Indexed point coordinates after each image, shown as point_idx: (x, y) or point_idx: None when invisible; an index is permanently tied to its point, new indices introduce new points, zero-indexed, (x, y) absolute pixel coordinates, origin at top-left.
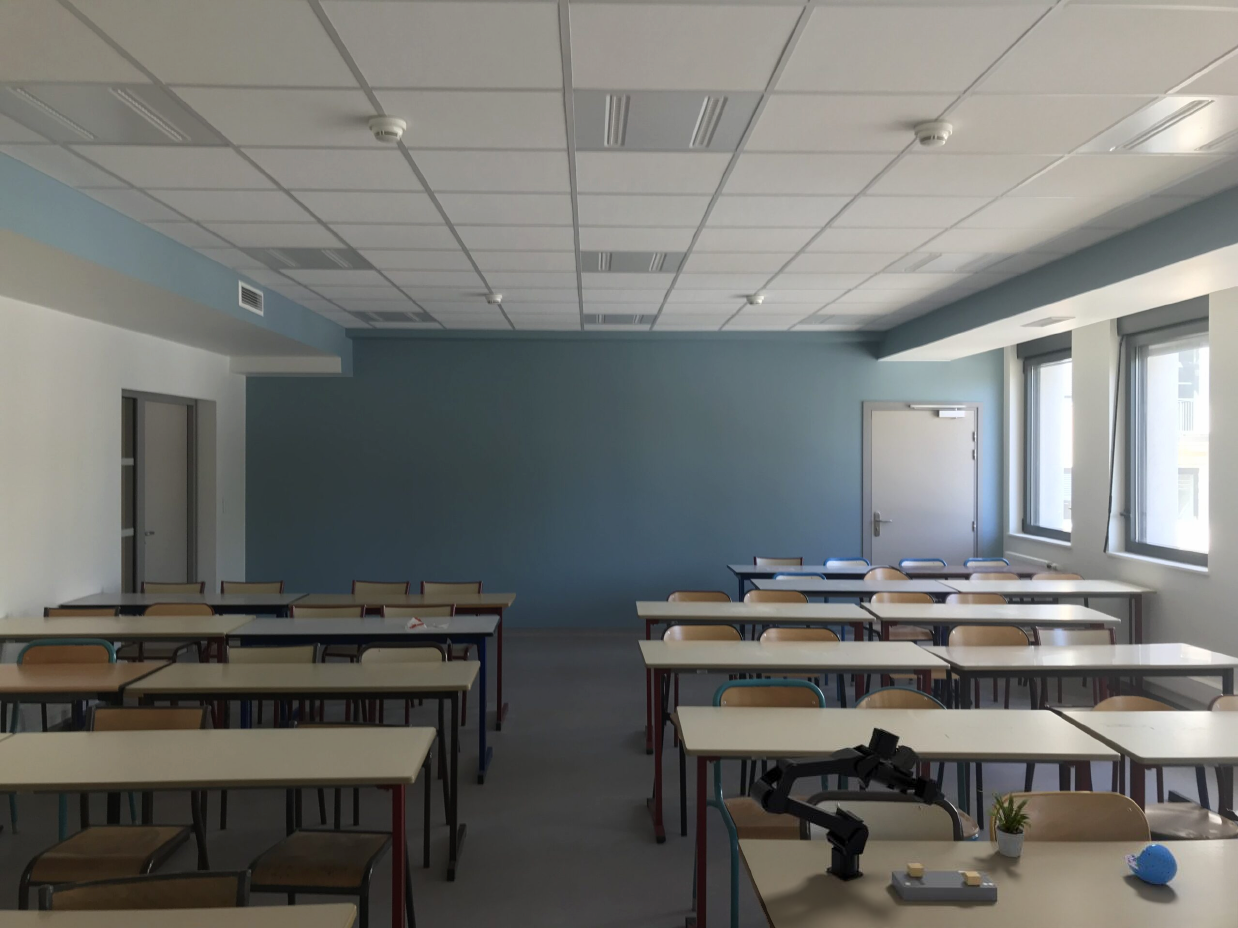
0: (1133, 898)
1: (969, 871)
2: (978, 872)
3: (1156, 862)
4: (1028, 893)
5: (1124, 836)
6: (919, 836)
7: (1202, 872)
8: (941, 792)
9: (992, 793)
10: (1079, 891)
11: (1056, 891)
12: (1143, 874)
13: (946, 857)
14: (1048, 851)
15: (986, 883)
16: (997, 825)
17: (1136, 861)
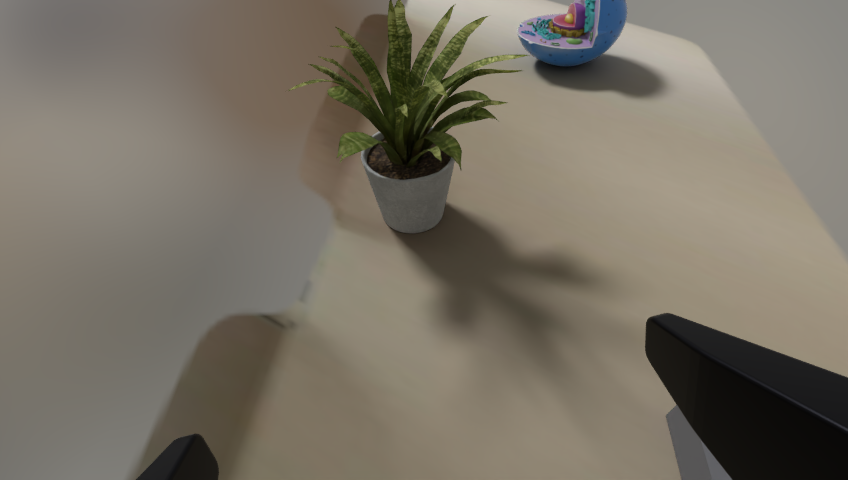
0: (655, 107)
1: (707, 455)
2: None
3: (624, 10)
4: (703, 291)
5: (377, 25)
6: None
7: (522, 9)
8: (770, 351)
9: (314, 67)
10: (647, 173)
11: (662, 217)
12: (595, 53)
13: (422, 438)
14: None
15: None
16: (369, 168)
17: (558, 37)
